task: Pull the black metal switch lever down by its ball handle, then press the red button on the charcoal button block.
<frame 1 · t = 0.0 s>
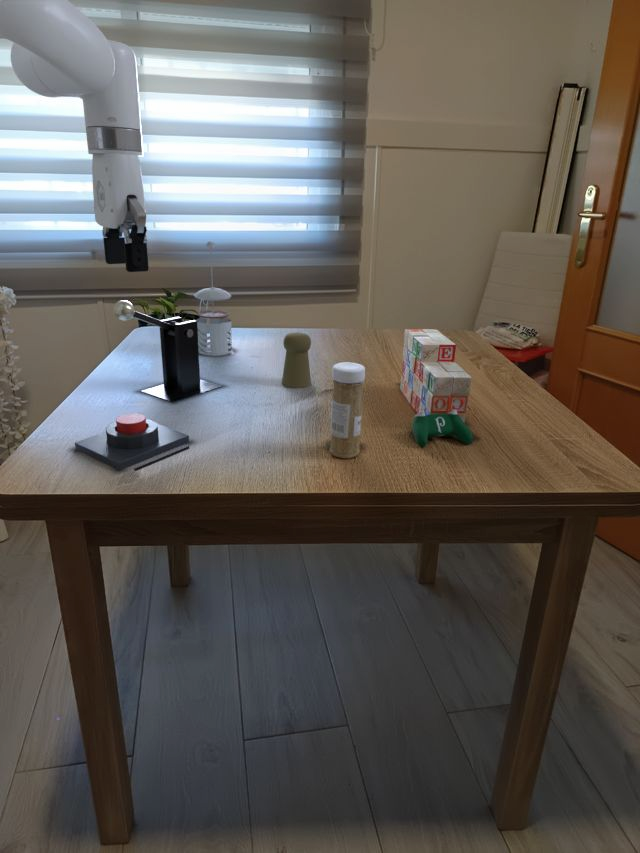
hand: (126, 267, 88), 24 cm above the table, tool pointing down, fingers open, 9 cm apart
button block: (134, 452, 83), on the table
button: (131, 424, 81), point 4 cm above the table, slide at 0.1 cm
cork: (296, 390, 112), on the table
gaming controller: (438, 440, 91), on the table
stack of blocks: (428, 409, 104), on the table
switch bracket: (182, 394, 106), on the table
sprinkles bottle: (344, 454, 85), on the table
switch lever: (152, 320, 97), point 15 cm above the table, hinge at 25.0°
french press: (213, 355, 132), on the table
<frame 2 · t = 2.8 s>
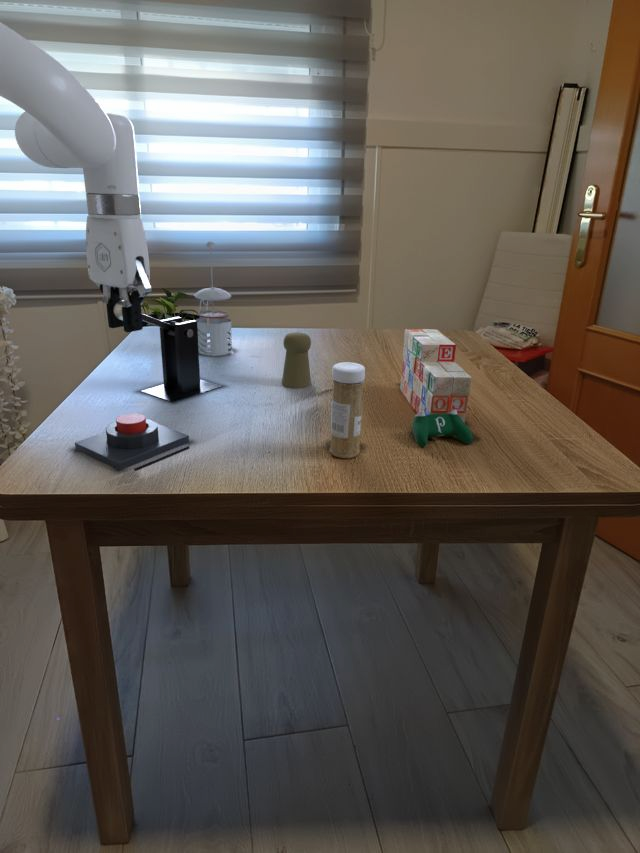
hand: (125, 327, 93), 14 cm above the table, tool pointing down, fingers closed on switch lever, 3 cm apart
switch lever: (152, 320, 97), point 15 cm above the table, hinge at 25.0°, touching gripper
everything else where it was.
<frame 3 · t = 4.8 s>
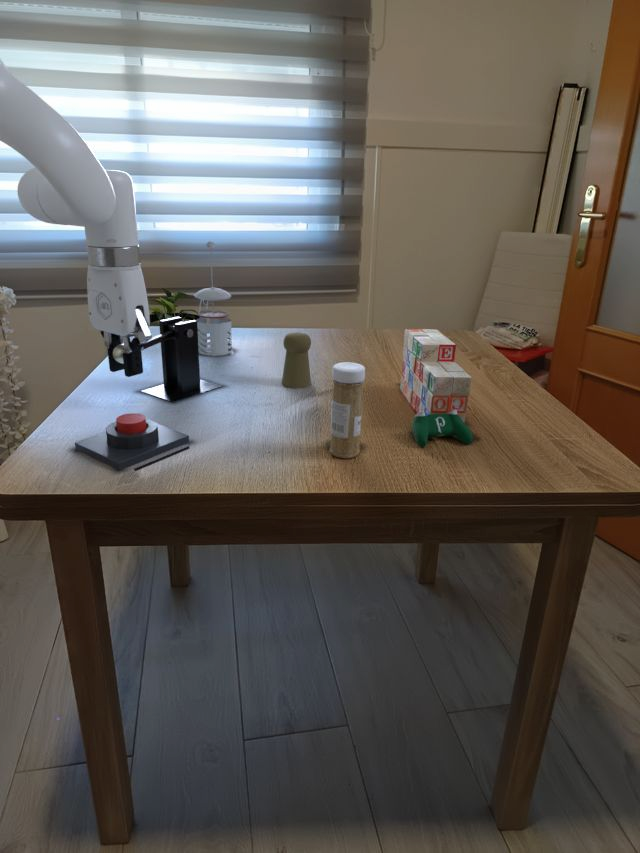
hand: (126, 371, 95), 7 cm above the table, tool pointing down, fingers closed on switch lever, 3 cm apart
switch lever: (151, 341, 98), point 11 cm above the table, hinge at -8.9°, touching gripper
everything else where it was.
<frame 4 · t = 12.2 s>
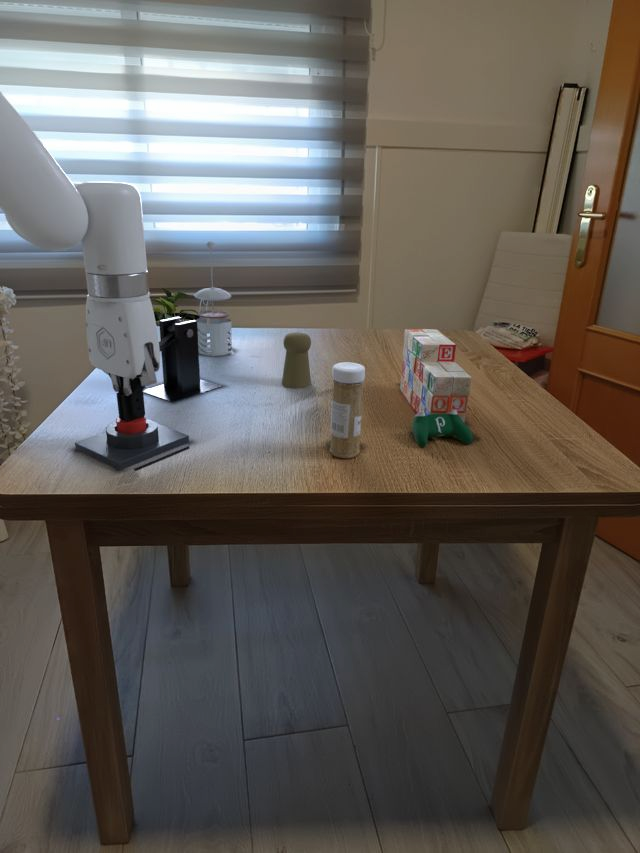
hand: (132, 417, 81), 5 cm above the table, tool pointing down, fingers closed
button: (131, 424, 81), point 4 cm above the table, slide at 0.1 cm, touching gripper
switch lever: (154, 350, 99), point 9 cm above the table, hinge at -25.5°
everything else where it was.
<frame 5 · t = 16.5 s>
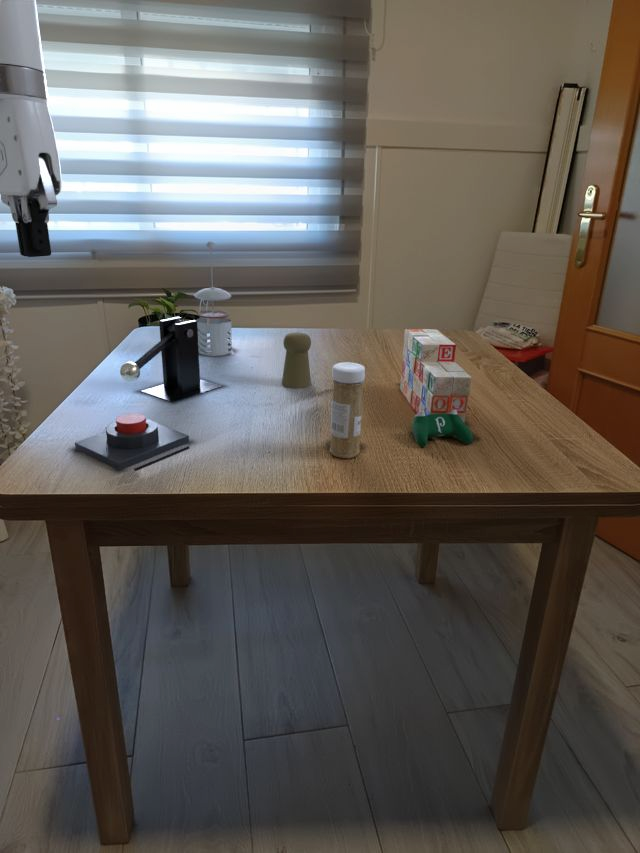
hand: (36, 255, 72), 27 cm above the table, tool pointing down, fingers closed
button: (131, 424, 81), point 4 cm above the table, slide at 0.1 cm
everything else where it was.
at the end: switch lever at -26° (first picture: +25°); button pushed in 1.1 cm at the most during the clip, back to where it started at the end; button slide at 0.1 cm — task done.
